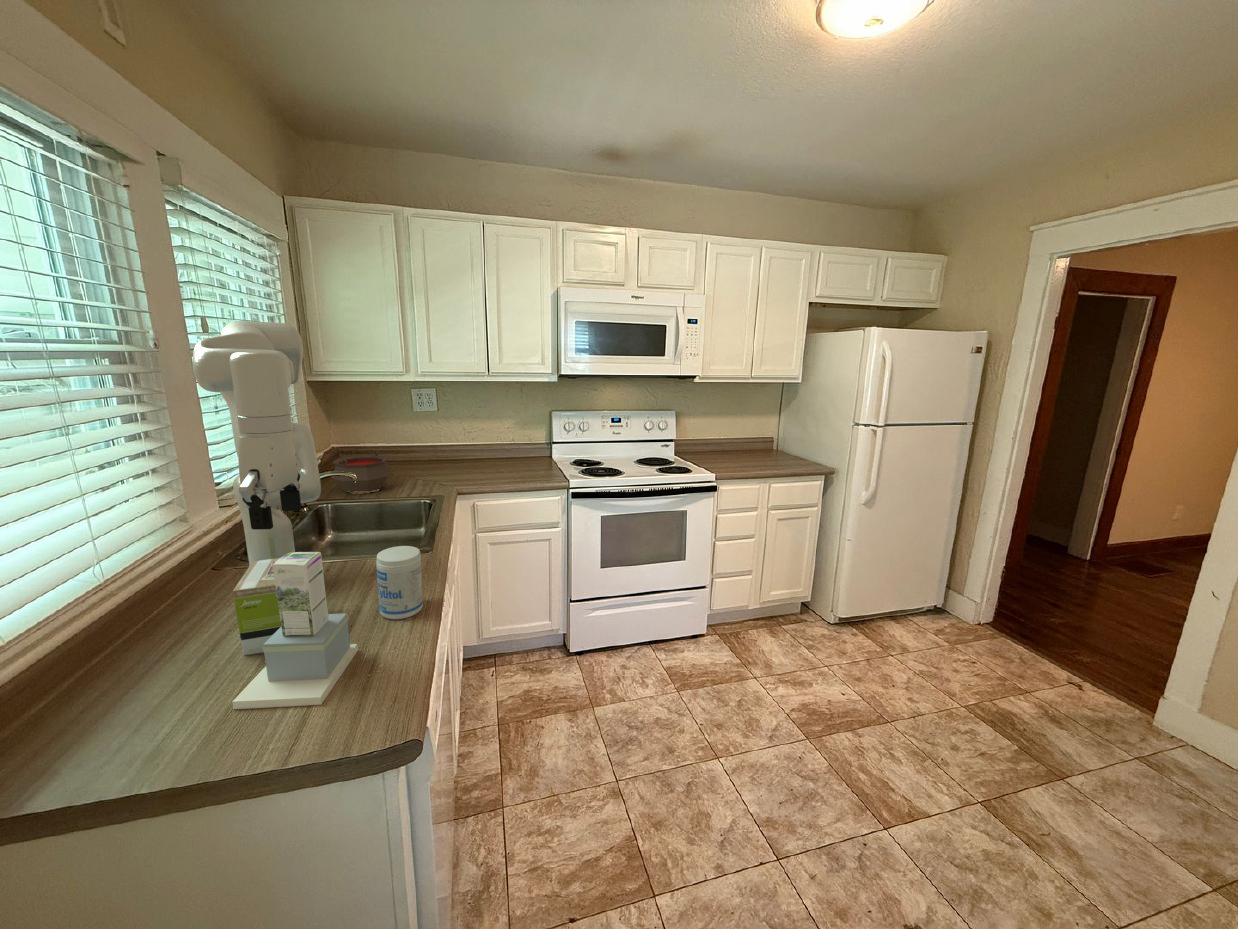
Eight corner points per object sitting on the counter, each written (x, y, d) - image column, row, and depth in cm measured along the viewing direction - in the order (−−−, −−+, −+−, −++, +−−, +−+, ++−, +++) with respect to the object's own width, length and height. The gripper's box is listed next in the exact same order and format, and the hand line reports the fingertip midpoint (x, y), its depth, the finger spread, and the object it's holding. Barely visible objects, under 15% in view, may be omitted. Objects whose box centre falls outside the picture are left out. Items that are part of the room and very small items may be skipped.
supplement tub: (372, 621, 111) (367, 561, 108) (390, 600, 121) (385, 544, 117) (415, 621, 112) (411, 561, 109) (429, 600, 121) (426, 545, 118)
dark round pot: (356, 481, 227) (353, 447, 224) (404, 485, 224) (402, 450, 221) (319, 495, 204) (314, 457, 201) (371, 499, 201) (368, 461, 197)
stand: (284, 653, 98) (279, 613, 97) (357, 650, 100) (354, 610, 98) (233, 709, 83) (225, 662, 81) (321, 704, 85) (315, 658, 83)
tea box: (261, 620, 110) (252, 559, 107) (312, 612, 114) (305, 553, 111) (241, 657, 97) (230, 589, 94) (300, 647, 101) (292, 581, 98)
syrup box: (330, 620, 95) (322, 550, 91) (314, 637, 89) (305, 563, 86) (299, 620, 94) (290, 550, 91) (281, 638, 88) (271, 563, 85)
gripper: (270, 417, 92) (280, 504, 96) (207, 433, 75) (224, 537, 79) (313, 418, 93) (322, 504, 97) (261, 433, 76) (274, 536, 80)
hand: (277, 519), depth 88 cm, fingers open, 9 cm apart
